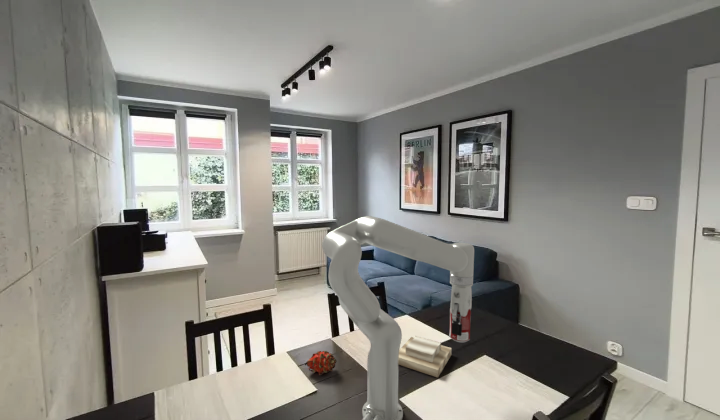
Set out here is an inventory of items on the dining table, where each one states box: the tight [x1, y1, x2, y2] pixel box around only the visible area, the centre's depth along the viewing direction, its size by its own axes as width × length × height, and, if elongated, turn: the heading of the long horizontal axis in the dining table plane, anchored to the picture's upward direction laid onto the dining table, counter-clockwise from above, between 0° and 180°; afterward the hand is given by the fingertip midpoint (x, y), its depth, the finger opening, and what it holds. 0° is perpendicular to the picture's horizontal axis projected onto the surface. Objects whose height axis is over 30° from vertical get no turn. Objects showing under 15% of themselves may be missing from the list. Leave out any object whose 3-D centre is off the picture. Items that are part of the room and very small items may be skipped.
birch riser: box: [398, 335, 452, 378], centre depth 128 cm, size 18×18×6 cm
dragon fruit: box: [304, 350, 337, 376], centre depth 119 cm, size 8×8×12 cm
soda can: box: [448, 307, 472, 343], centre depth 108 cm, size 7×7×12 cm
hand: (459, 329), depth 108 cm, fingers closed on soda can, 6 cm apart
